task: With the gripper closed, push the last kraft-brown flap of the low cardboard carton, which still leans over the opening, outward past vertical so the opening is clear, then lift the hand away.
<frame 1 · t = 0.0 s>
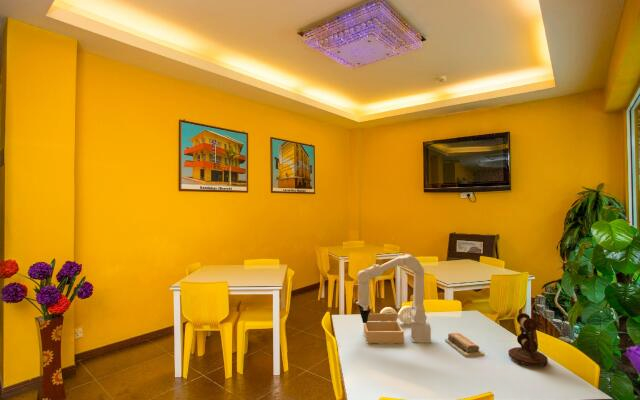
hand: (364, 320, 171), 10 cm above the table, tool pointing down, fingers open, 7 cm apart
packaged product: (463, 349, 160), on the table
carton flap: (381, 317, 178), point 9 cm above the table, hinge at 50.0°
carton: (383, 337, 173), on the table
brown figurine statuette: (527, 361, 146), on the table
letter: (398, 324, 192), on the table
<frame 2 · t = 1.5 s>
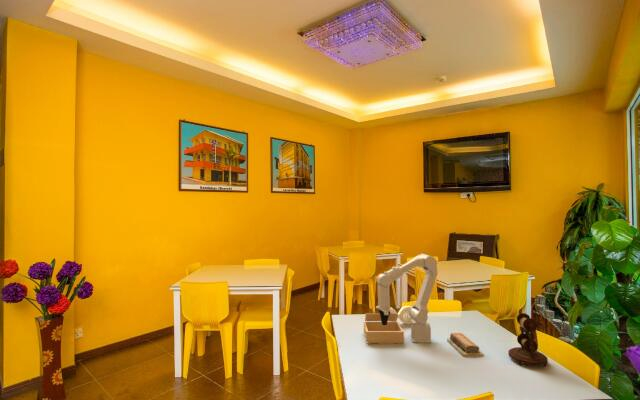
hand: (384, 324, 167), 9 cm above the table, tool pointing down, fingers closed
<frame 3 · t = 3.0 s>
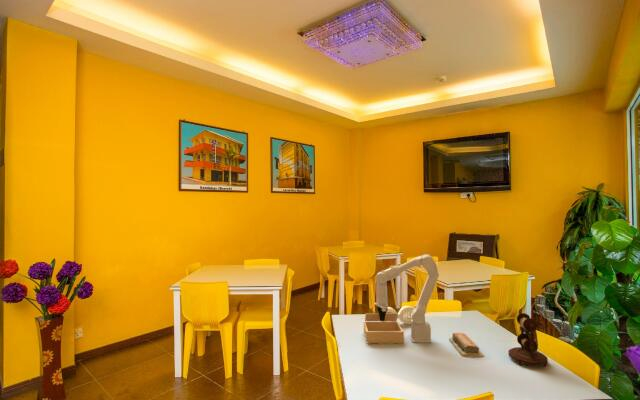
hand: (382, 320, 174), 8 cm above the table, tool pointing down, fingers closed, pressing on carton flap
carton flap: (381, 317, 178), point 9 cm above the table, hinge at 50.1°, touching gripper
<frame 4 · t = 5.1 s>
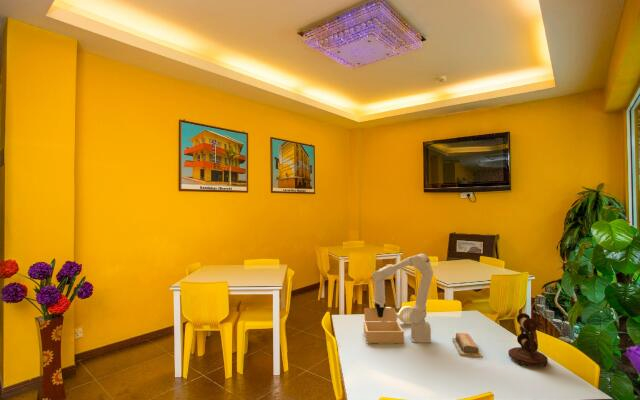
hand: (380, 317, 182), 8 cm above the table, tool pointing down, fingers closed, pressing on carton flap
carton flap: (380, 314, 182), point 9 cm above the table, hinge at 120.5°, touching gripper
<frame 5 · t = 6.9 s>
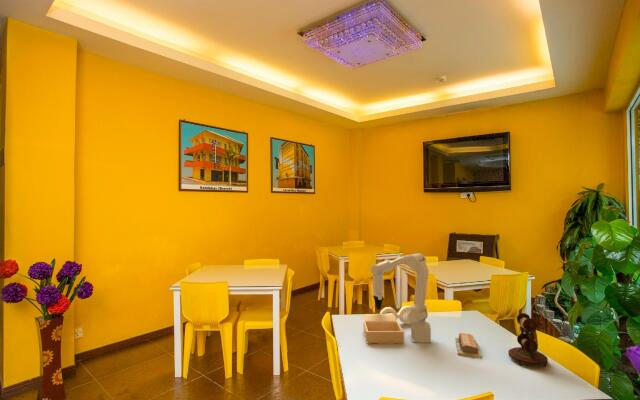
hand: (378, 308, 188), 10 cm above the table, tool pointing down, fingers closed
carton flap: (379, 318, 184), point 7 cm above the table, hinge at 167.6°
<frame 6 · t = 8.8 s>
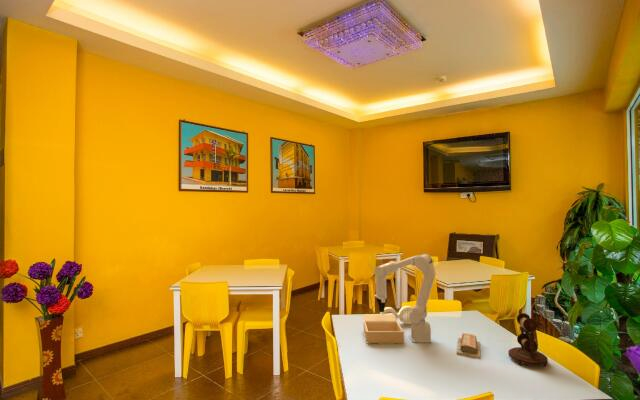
hand: (381, 311, 183), 10 cm above the table, tool pointing down, fingers closed
carton flap: (379, 318, 184), point 7 cm above the table, hinge at 168.1°
at the end: carton flap at +168° (first picture: +50°) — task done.
